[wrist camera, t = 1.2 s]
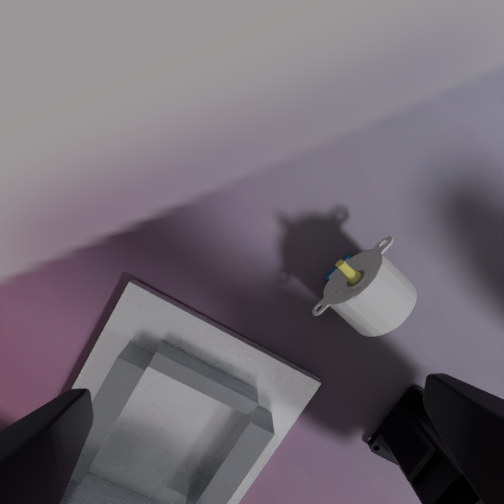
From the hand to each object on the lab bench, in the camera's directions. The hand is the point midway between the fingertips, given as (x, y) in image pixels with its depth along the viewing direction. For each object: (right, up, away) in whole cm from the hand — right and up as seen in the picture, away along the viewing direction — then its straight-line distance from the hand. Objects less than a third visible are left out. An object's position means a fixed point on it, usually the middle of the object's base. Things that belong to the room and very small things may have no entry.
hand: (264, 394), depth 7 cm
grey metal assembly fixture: (-8, -11, +15) cm, 20 cm away
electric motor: (+6, +2, +13) cm, 15 cm away
